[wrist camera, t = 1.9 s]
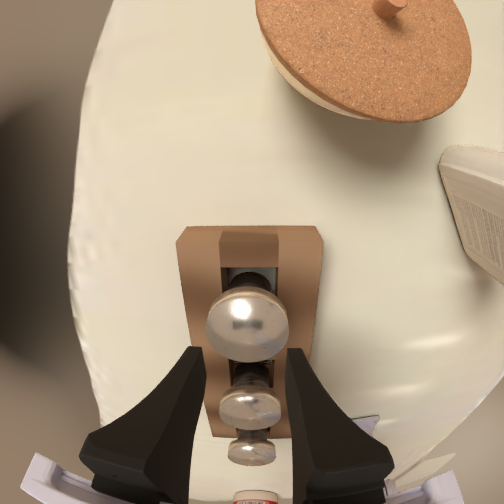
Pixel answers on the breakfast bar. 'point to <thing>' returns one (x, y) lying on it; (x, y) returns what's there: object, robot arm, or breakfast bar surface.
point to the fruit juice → (255, 497)
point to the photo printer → (477, 202)
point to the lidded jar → (370, 54)
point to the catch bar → (286, 290)
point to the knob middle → (250, 399)
